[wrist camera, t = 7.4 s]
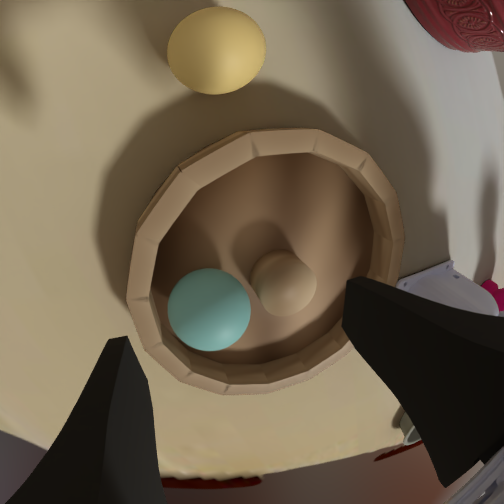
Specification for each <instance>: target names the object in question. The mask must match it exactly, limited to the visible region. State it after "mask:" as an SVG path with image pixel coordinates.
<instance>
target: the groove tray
mask: <svg viewBox="0 0 504 504" xmlns="http://www.w3.org/2000/svg"><path fill="white" fill-rule="evenodd" d="M178 166H179V167H178ZM178 166H176V168H175V169H174V170H173V172H172V173H171V174H170V175H169V177H168V178H167V179H166V180H165V181H164V183H163V184H162V185H161V186H160V187H159V189H158V190H157V191H156V193H155V194H154V196H153V198H152V199H151V201H150V203H149V204H148V206H147V208H146V209H145V211H144V212H143V214H142V215H141V217H140V218H139V220H138V222H137V227H136V233H135V238H134V244H133V249H132V256H131V262H130V269H129V276H128V284H127V294H126V301H127V304H128V307H129V310H130V313H131V316H132V319H133V321H134V324H135V327H136V330H137V332H138V335H139V338H140V340H141V343H142V345H143V348H144V350H145V351H146V352H147V353H148V354H149V355H150V356H151V357H152V358H153V359H155V360H156V361H157V362H158V363H159V364H160V365H161V366H162V367H163V368H165V369H166V370H167V371H168V372H169V373H170V374H171V375H173V376H174V377H175V378H176V379H177V380H178V381H180V382H182V383H185V384H188V385H191V386H194V387H197V388H200V389H203V390H207V391H210V392H213V393H216V394H220V395H252V394H268V393H271V392H274V391H277V390H280V389H283V388H286V387H289V386H292V385H295V384H298V383H301V382H304V381H307V380H309V379H311V378H313V377H314V376H316V375H317V374H319V373H320V372H322V371H323V370H325V369H327V368H328V367H330V366H331V365H333V364H334V363H336V362H337V361H338V360H340V359H341V358H343V357H344V356H346V355H347V354H348V353H349V352H350V351H351V350H352V349H353V348H354V346H353V344H352V343H351V341H350V340H349V338H348V337H347V335H346V333H345V332H344V330H343V328H342V327H341V325H342V317H343V309H344V300H345V291H346V281H347V280H349V279H352V278H355V277H359V276H363V277H367V278H370V279H373V280H376V281H379V282H382V283H385V284H388V285H390V286H393V287H395V285H396V283H397V281H398V276H399V271H400V265H401V259H402V253H403V247H404V241H405V233H404V228H403V222H402V217H401V211H400V206H399V201H398V197H397V193H396V191H395V189H394V188H393V186H392V185H391V184H390V182H389V181H388V179H387V178H386V176H385V175H384V174H383V172H382V171H381V169H380V168H379V167H378V165H377V164H376V163H375V161H374V160H373V159H372V157H371V156H370V155H369V154H368V153H367V152H365V151H363V150H361V149H359V148H357V147H355V146H353V145H351V144H349V143H347V142H345V141H343V140H341V139H339V138H337V137H335V136H332V135H330V134H328V133H326V132H324V131H322V130H319V129H311V128H279V129H261V130H249V131H238V132H235V133H234V134H232V135H230V136H228V137H226V138H224V139H221V140H219V141H217V142H215V143H213V144H211V145H209V146H207V147H205V148H203V149H202V150H200V151H199V152H197V153H196V154H194V155H193V156H191V157H190V158H188V159H187V160H185V161H184V162H182V163H180V164H179V165H178ZM204 268H213V269H219V270H222V271H225V272H227V273H229V274H231V275H232V276H233V277H235V278H236V279H237V280H238V281H239V282H240V283H241V284H242V286H243V287H244V288H245V290H246V292H247V294H248V297H249V300H250V306H251V314H250V320H249V323H248V326H247V328H246V330H245V332H244V333H243V335H242V336H241V337H240V338H239V339H238V340H237V341H236V342H235V343H233V344H232V345H230V346H229V347H227V348H224V349H221V350H217V351H203V350H198V349H195V348H193V347H191V346H189V345H187V344H186V343H184V342H183V341H182V340H181V339H180V338H179V337H178V336H177V335H176V333H175V332H174V331H173V329H172V327H171V325H170V322H169V318H168V300H169V297H170V294H171V292H172V290H173V288H174V286H175V285H176V283H177V282H178V281H179V280H180V279H181V278H183V277H184V276H185V275H187V274H188V273H190V272H192V271H195V270H198V269H204Z"/></svg>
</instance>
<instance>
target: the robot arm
mask: <svg viewBox="0 0 504 504" xmlns="http://www.w3.org/2000/svg"><path fill="white" fill-rule="evenodd" d="M453 268H454V261H453V260H449V261H447V262H444V263H442V264H439V265H437V266H434V267H432V268H429V269H427V270H424V271H421V272H419V273H416V274H414V275H411V276H408V277H406V278H403V279H400V280H399V281H398V282H397V283H396V287H393V286H390V285H388V284H385V283H382V282H379V281H376V280H373V279H370V278H367V277H363V276H359V277H355V278H352V279H349V280H347V281H346V291H345V300H344V309H343V317H342V325H341V327H342V328H343V330H344V332H345V333H346V335H347V337H348V338H349V340H350V341H351V343H352V344H353V346H354V348H355V349H356V350H357V351H358V353H359V354H360V355H361V356H362V357H363V358H364V360H365V361H366V362H367V363H368V364H369V366H370V367H371V368H372V369H373V370H374V371H375V373H376V374H377V375H378V376H379V377H380V378H381V379H382V381H383V382H384V383H385V384H386V385H387V386H388V388H389V389H390V390H391V391H392V393H393V394H394V395H395V397H396V398H397V399H398V401H399V402H400V404H401V405H402V407H403V408H404V410H405V412H406V413H407V415H408V416H409V418H410V420H411V421H412V423H413V425H414V426H415V428H416V430H417V432H418V433H419V435H420V437H421V439H422V441H423V443H424V445H425V447H426V449H427V451H428V453H429V456H430V458H431V460H432V463H433V465H434V468H435V470H436V473H437V476H438V479H439V481H440V482H441V484H442V485H443V486H444V487H445V488H446V487H448V486H449V485H450V484H452V483H453V482H454V481H456V480H457V479H458V478H460V477H461V476H462V475H463V474H464V473H466V472H467V471H468V470H469V469H471V468H472V467H473V466H474V465H475V464H476V463H477V462H478V461H479V460H481V461H482V462H483V463H484V466H483V467H482V468H481V469H480V470H479V472H477V473H476V474H475V475H474V476H473V477H472V478H471V479H470V480H469V481H468V482H467V483H466V484H465V485H464V486H463V487H462V488H461V489H460V490H458V491H457V493H455V494H454V495H453V496H452V497H451V498H449V499H448V500H447V501H446V502H444V504H504V311H500V312H499V309H498V305H497V303H496V301H495V299H494V298H493V296H492V295H491V294H490V293H489V292H488V291H487V290H485V289H484V288H482V287H481V286H479V285H478V284H476V283H474V282H473V281H471V280H470V279H468V278H467V277H465V276H464V275H462V274H460V273H459V272H457V271H456V270H454V269H453ZM484 491H485V494H484V495H483V496H481V497H480V495H481V494H482V493H483V492H484ZM479 497H480V498H479ZM5 504H167V501H166V498H165V494H164V490H163V487H162V483H161V478H160V473H159V467H158V459H157V450H156V440H155V429H154V417H153V407H152V401H151V396H150V390H149V385H148V380H147V378H146V376H145V374H144V372H143V370H142V368H141V365H140V363H139V361H138V359H137V357H136V355H135V352H134V350H133V348H132V346H131V343H130V341H129V339H128V336H123V337H118V338H112V339H109V340H108V341H107V343H106V345H105V347H104V349H103V351H102V353H101V355H100V357H99V359H98V361H97V363H96V365H95V367H94V369H93V371H92V373H91V375H90V377H89V379H88V381H87V383H86V385H85V387H84V389H83V391H82V393H81V395H80V397H79V399H78V401H77V403H76V405H75V406H74V408H73V410H72V412H71V414H70V416H69V418H68V419H67V421H66V423H65V425H64V426H63V428H62V430H61V431H60V433H59V435H58V436H57V438H56V439H55V441H54V443H53V444H52V446H51V447H50V449H49V450H48V452H47V453H46V454H45V456H44V457H43V459H42V460H41V461H40V462H39V464H38V465H37V467H36V468H35V469H34V471H33V472H32V473H31V475H30V476H29V477H28V478H27V480H26V481H25V482H24V483H23V484H22V486H21V487H20V488H19V489H18V490H17V491H16V492H15V494H14V495H13V496H12V497H11V498H10V499H9V500H8V501H7V502H6V503H5Z"/></svg>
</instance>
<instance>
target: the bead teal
mask: <svg viewBox="0 0 504 504" xmlns="http://www.w3.org/2000/svg"><path fill="white" fill-rule="evenodd" d="M250 314H251V306H250V300H249V297H248V294H247V292H246V290H245V288H244V287H243V286H242V284H241V283H240V282H239V281H238V280H237V279H236V278H235V277H233V276H232V275H231V274H229V273H227V272H225V271H222V270H219V269H213V268H204V269H198V270H195V271H192V272H190V273H188V274H187V275H185V276H184V277H183V278H181V279H180V280H179V281H178V282H177V283H176V285H175V286H174V288H173V290H172V292H171V294H170V297H169V300H168V318H169V322H170V325H171V327H172V329H173V331H174V332H175V333H176V335H177V336H178V337H179V338H180V339H181V340H182V341H183V342H184V343H186V344H187V345H189V346H191V347H193V348H195V349H198V350H203V351H217V350H221V349H224V348H227V347H229V346H230V345H232V344H233V343H235V342H236V341H237V340H238V339H239V338H240V337H241V336H242V335H243V333H244V332H245V330H246V328H247V326H248V323H249V320H250Z"/></svg>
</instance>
